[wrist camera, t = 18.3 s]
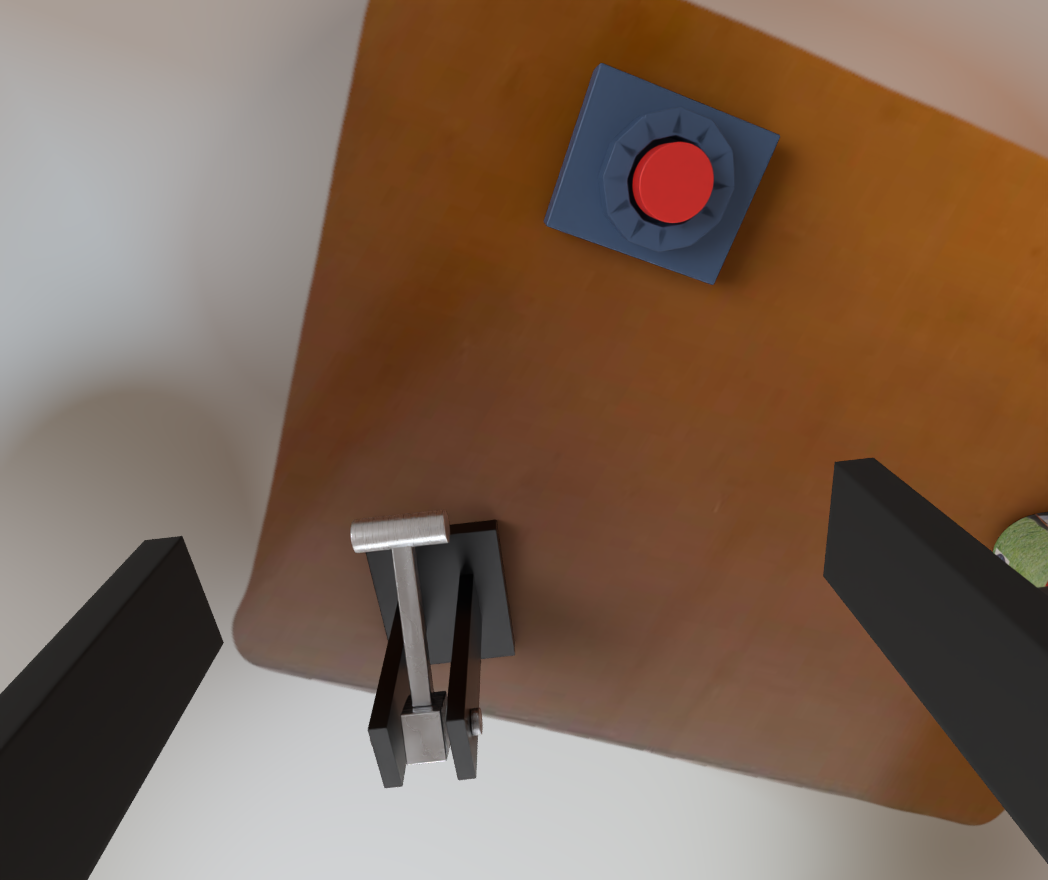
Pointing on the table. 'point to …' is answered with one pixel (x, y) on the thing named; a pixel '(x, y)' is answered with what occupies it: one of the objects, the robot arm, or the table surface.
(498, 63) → the table surface
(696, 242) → the button box
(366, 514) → the table surface
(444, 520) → the lever
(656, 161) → the button
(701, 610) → the table surface
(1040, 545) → the beverage can
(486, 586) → the bracket
